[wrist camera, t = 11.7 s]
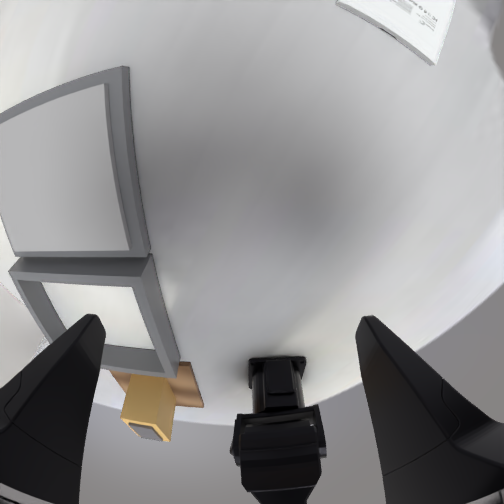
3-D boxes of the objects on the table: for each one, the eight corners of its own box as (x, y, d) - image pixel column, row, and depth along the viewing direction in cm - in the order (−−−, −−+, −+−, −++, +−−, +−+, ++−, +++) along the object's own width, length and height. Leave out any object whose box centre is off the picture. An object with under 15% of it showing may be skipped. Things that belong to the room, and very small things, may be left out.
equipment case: (180, 356, 29) (176, 378, 26) (69, 342, 28) (61, 359, 26) (128, 67, 13) (108, 64, 11) (-10, 121, 13) (-32, 130, 10)
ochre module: (176, 399, 34) (169, 444, 28) (147, 395, 34) (138, 439, 27) (164, 375, 30) (155, 427, 24) (132, 371, 30) (119, 420, 24)
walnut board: (203, 404, 36) (203, 407, 35) (130, 396, 35) (130, 399, 35) (190, 362, 29) (189, 366, 29) (101, 352, 29) (100, 356, 28)
